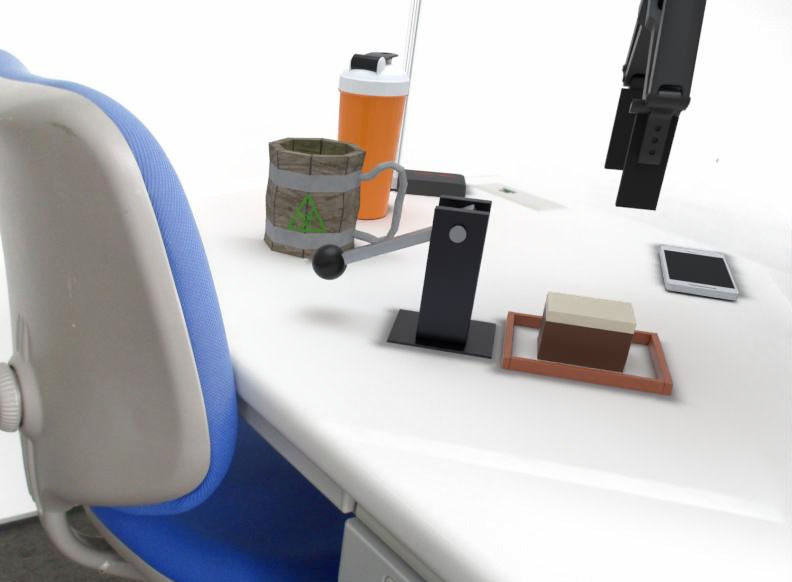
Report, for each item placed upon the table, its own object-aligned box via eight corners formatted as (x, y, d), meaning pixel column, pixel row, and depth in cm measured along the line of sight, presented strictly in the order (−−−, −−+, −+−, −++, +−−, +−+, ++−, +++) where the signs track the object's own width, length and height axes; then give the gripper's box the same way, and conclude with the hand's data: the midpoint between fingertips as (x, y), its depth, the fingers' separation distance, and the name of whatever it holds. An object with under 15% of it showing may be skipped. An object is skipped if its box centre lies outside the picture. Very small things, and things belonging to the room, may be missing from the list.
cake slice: (617, 355, 78) (631, 302, 75) (621, 378, 73) (636, 323, 71) (536, 342, 79) (547, 290, 77) (535, 364, 75) (548, 310, 73)
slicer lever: (314, 288, 79) (303, 255, 78) (322, 277, 81) (311, 245, 80) (480, 243, 73) (470, 207, 72) (483, 233, 75) (473, 198, 74)
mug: (253, 261, 97) (259, 152, 91) (269, 234, 106) (275, 133, 101) (395, 277, 95) (410, 165, 89) (398, 248, 104) (412, 145, 99)
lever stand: (385, 352, 77) (404, 209, 71) (398, 320, 84) (416, 187, 78) (489, 369, 75) (517, 223, 69) (493, 335, 82) (520, 199, 76)
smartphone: (721, 260, 106) (723, 252, 105) (737, 301, 93) (739, 293, 93) (658, 251, 108) (660, 244, 107) (665, 290, 95) (667, 282, 95)
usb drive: (464, 198, 127) (467, 179, 126) (382, 191, 129) (384, 172, 127) (463, 190, 132) (466, 172, 130) (383, 183, 133) (386, 165, 132)
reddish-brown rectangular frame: (651, 353, 80) (657, 332, 79) (666, 406, 70) (673, 384, 69) (504, 330, 83) (508, 310, 82) (499, 378, 73) (503, 357, 72)
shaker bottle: (401, 210, 120) (421, 54, 110) (381, 225, 112) (401, 60, 103) (340, 200, 123) (355, 48, 114) (317, 214, 116) (331, 53, 106)
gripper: (627, -114, 71) (573, 153, 81) (663, -146, 49) (583, 221, 59) (727, -112, 69) (660, 160, 79) (809, -145, 48) (703, 234, 57)
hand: (627, 187), depth 69 cm, fingers open, 13 cm apart
